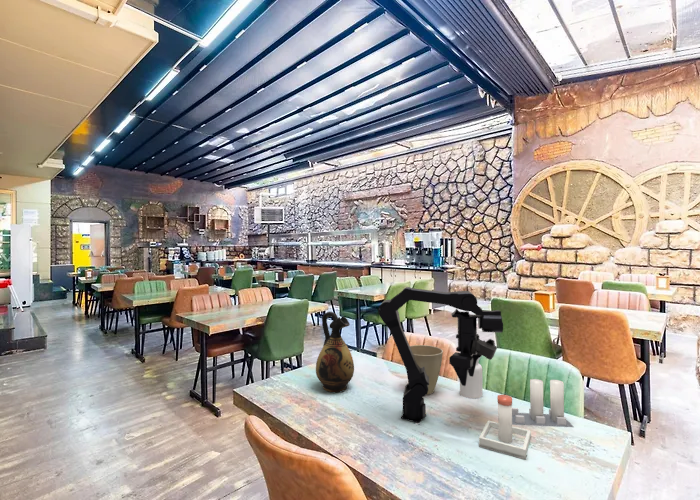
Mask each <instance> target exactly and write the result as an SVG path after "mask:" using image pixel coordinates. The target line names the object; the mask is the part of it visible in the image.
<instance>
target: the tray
mask: <svg viewBox="0 0 700 500" xmlns="http://www.w3.org/2000/svg"><path fill="white" fill-rule="evenodd" d="M491 428H492V429H497V430H498V421H491V420H487V422H486V423H485V425H484V427H483V429H482V432H481V433H480V435H479V437H478V447H479V448H483V449H485V450H489V451H493V452H497V453H501V454H504V455H508V456H511V457H515V458H518V459H521V460H527V456H528V454H527V453H528V448H529V444H530V440H531V438H532V437H531V435H532V434H531V433H532V432H531V430H530V429H527V428H523V427H517V426H515V425H512V434H514V435H515V434H516V435H520V436H524V437H525V438H524V441H523V445H522V447H521V446H518V445H515V444H511V443H504V442H501V441H500V440H495V439H491V438H487V435H488V433H489V431H490V429H491Z"/></svg>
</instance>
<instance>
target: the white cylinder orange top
mask: <svg viewBox="0 0 700 500" xmlns="http://www.w3.org/2000/svg"><path fill="white" fill-rule="evenodd" d="M496 398H497V423H498V429H497V431H498V433H497V436H498V438H497V439H498V441H499V442H503V443H507V444H511V443H512V442H513V433H512V426H513V425H512V408H513V397H512V396H511V395H508V394H498V395H497V397H496Z"/></svg>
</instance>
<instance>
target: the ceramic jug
mask: <svg viewBox="0 0 700 500" xmlns="http://www.w3.org/2000/svg"><path fill="white" fill-rule="evenodd" d="M328 318H332V321H331V323H329V325H328ZM321 320H322V321H321V322H322V323H321V324H322V330H323V334H324V339H325V340H324V342H323V346H322V348H321V350H320V352H319V354H318V357H317V359H316V363H315V374H316V378H317V380H318V381H319V382H320V383H321V384H322V389H323V390H324V391H326V392H330V393H331V392H335V393H341V392H340V391H342V392H344V391H343V390H345V391H346V389H347V385H349V383H350V382H351V381H352V379H353V378H354V377H353V376H354V374H355V373H354V372H355V364H354V359H353V355H352V353H351V351H350V349H349V347H348V346H347V344H346V342H345V340H344V339H343V337H342V336H341V330H342V329H344V328H347V327H349V326H350V322H349V320H348V319H347V318H346V317H345V316H342V317H338V315H337V313H335V312H333V311H327V312H325V313H324V314H323V316H322V318H321ZM329 328H330V329H331V333H330V331H329V330H330V329H329Z"/></svg>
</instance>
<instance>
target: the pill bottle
mask: <svg viewBox="0 0 700 500" xmlns="http://www.w3.org/2000/svg"><path fill="white" fill-rule="evenodd" d="M479 359H480V358H479ZM479 359H477V363H476V367H475V371H474V375H473V377H472V376H470V375H469V373H468V375H467V382H466V386H463V385H462V384H461V382H460V381H459V396H462V397H464V398H468V399H473V400H476V399H480V398H482V397H483V366H482V364H480V362H479V361H480V360H479Z"/></svg>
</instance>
